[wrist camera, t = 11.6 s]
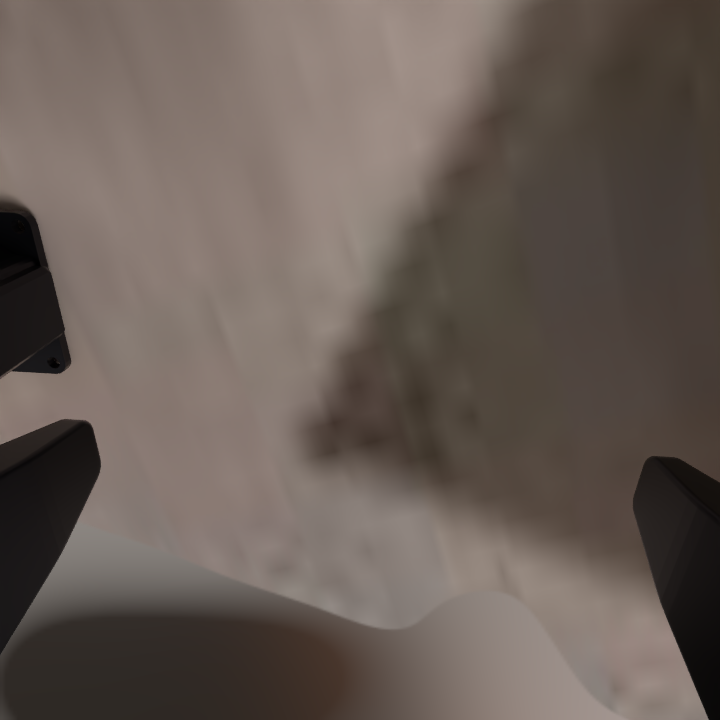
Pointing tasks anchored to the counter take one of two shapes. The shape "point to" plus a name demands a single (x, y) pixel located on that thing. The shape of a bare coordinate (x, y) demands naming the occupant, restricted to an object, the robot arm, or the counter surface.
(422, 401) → the counter surface
